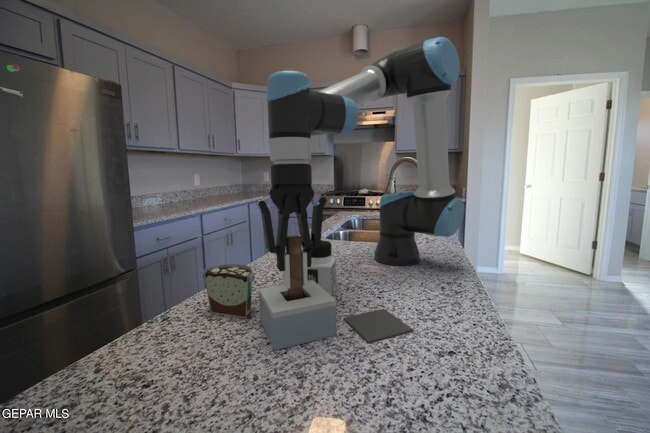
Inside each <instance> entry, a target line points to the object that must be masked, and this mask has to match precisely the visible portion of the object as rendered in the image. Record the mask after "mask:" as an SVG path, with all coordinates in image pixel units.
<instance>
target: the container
mask: <svg viewBox="0 0 650 433" xmlns="http://www.w3.org/2000/svg"><path fill="white" fill-rule="evenodd" d="M311 263H312V264H311V267H307V278H308V281H310V280H314V281H315V282H316V283H317V284H318V285H319V286H320V287H321V288H323V289H324V290H325V291H326V292H327V293H328V294H329V295H331V296H332V294H333V292H334V290H335V288H336V285H337V259H336V257H332V243H331V242H330V241H328V240H326V239H321V245H320V247H318V248H317V247H316V248H314V249H313V252H312V253H311Z"/></svg>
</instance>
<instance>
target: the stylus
mask: <svg viewBox="0 0 650 433" xmlns="http://www.w3.org/2000/svg"><path fill="white" fill-rule="evenodd" d="M302 250H303V248H302V241H301V236H300V235H287V240H286V250H285V252H286V254H289V262H290V288H289V289H288V301H292V300H297V299H303V276H302Z"/></svg>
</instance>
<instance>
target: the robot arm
mask: <svg viewBox="0 0 650 433" xmlns="http://www.w3.org/2000/svg"><path fill="white" fill-rule="evenodd" d="M460 69H461V65H460V57H459V55H458V51H457V48H456V47H455V45H454V44H453V43H452V41H451V40H450V39H448V38H447V37H444V36H439V37H435V38H429V39H425V40H424V41H421V42H419V43H416V44H413V45H410V46H407V47H405V48H402V49H398V50H395V51H393V52H390V53H389V54H387V55H385V56H383V57H382V58H379V59H378V60H376V61H375V62H373V63H371V64H369V65H367V66H366V65H365V66H364V67H363V68H362V69H361V70H360V71H359V73H358V74H355V75H353V76H351V77H348V78H346V79H344V80H341V81H339V82H337V83H335V84H332V85H330V86H327V87H325V88H323V89H320V90H314V89H311V84H310V83H311V82H310V77H309V76H308V75H307V74H305V73H304V72H302V71H298V70H297V71H296V70H280V71H279V70H278V71H276V72H274V73H271V74H270V76H269V77H268V79H267V87H266V90H267V91H266V92H267V95H266V98H267V99H266V103H267V115H268V118H267V125H268V126H267V127H268V132H269V133H268V135H269V159H270V161H271V162H273V164H271V166H270V182H271V183H270V186H271V187H270V190H269V193H268V196H266V197H264V198H263V199H258V200H256V202H255V204H256V206H257V208H258V209H259V211H260V215H261V222H262V228H263V235H264V241H265V248H266V250H267V251H268V252H269V253H270V254H276V268H277V270H278V271H279V272H281V273H282V274H281V276H282V277H281V278H282V285H284V286H285V288H286V289H289V288H290V262H289V254H286V240H287V236H288V230H289V229H288V228H289V220H290V217H291V216H290V215H291V214H294V213H295V215H296V218H297V224H298V231H299V236H301V241H302V276H303V285H304V286H307V285H308V278H307V267H311V264H312V263H311V253H312V252H313V249H314V248H316V247H317V248H318V247H320V245H321V240H322V231H323V230H322V227H323V216H324V215H323V214H324V209H325V207H326V204H327V198H326V197H324V196H319V195H318V194H315V191H314V188H313V186H312V185H313V184H312V183H313V178H312V177H313V176H312V175H313V174H312V173H313V172H312V165H311V164H310V163H309V162H310V161H311V160H312V142H311V141H312V138H311V137H314V136H322V135H329V134H330V135H335V136H338V135H348V134H350V133H351V132H353V130H355V128H356V126H357V124H358V121H359V115H360V114H359V106H361V105H363V104H365V103H367V102H377V101H378V100H381V99H384V98H387V97H392V96H398V95H403V94H406V100H407V101H408V102H410V103H411V104H412V110H413V124H414V127H413V128H414V136H415V138H414V139H415V141H414V142H415V152H416V153H415V154H416V165H417V167H416V168H417V169H416V170H417V180H418V182H417V184H418V188H417V189H416V190H415V191H414V190H411V191H402V192H395V193H394V192H393V193H385V194H383V195H381V197H380V199H379V200H380V201H379V206H378V209H379V236H378V241H377V243H376V247H375V250H374V256H373V257H374V258H373V259H374V261H376V262H378V263H380V264H383V265H384V264H385V265H389V266H411V265H416V264H418V263H419V262H420V251H419V249H418V245H417V242H416V238H415V234H421V235H422V234H423V235H428V236H429V235H430V236H434V237H445V238H449V237H451V236H453V235H455V234H456V233H457V232H458V230H459V229H460V227H461V224H462V222H463V219H464V213H465V205H464V204H465V203H464V202H463V200H462V199H461V198H459V197H456V189H454V188H453V187H452V186H451V184H450V172H449V170H450V169H449V149H448V148H449V147H448V125H447V123H448V122H447V121H448V120H447V107H446V106H447V105H446V104H447V103H446V102H447V101H446V100H447V98H448V97H449V95H450V94H451V93H452V85H453V84H454V83H456V82H457V81H458V79H459V77H460V75H459V74H460V73H461V72H460V71H461V70H460ZM311 202H312V205H313V206H312V215H311V229H310V228H309V222H308V209H307V208H308V207H309V205H310V203H311ZM271 203H273V204H274V205H275V207H276V208H277V209H278V214H277V215H278V222H277V234H276V241H275V234H274V230H273V222H272V214H271V211H270V210H271V208H272V204H271Z"/></svg>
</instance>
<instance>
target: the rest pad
mask: <svg viewBox="0 0 650 433" xmlns="http://www.w3.org/2000/svg"><path fill="white" fill-rule="evenodd" d="M343 320H344V321H345V323H346V324H347V325H349V326H350V328H352V329H353V330H354V332H356V333H357V334H358V336H360V337H361V338H362V339H363V340H364V341H365V342H366V343H367V344H371V343H375V342H379V341H382V340H386V339H390V338H394V337H397V336H401V335H405V334H408V333H412V332H414V329H413V328H412V327H410V326H409V325H407V323H405V322H403V321H402V320H401V319H399V318H398V317H396V316H395V315H393V314H392V313H391V312H389V311H388V310H387V309H385V308H381V309H377V310H372V311H367V312H363V313H362V312H361V313H359V314H354V315H350V316H345V317H343Z"/></svg>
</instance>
